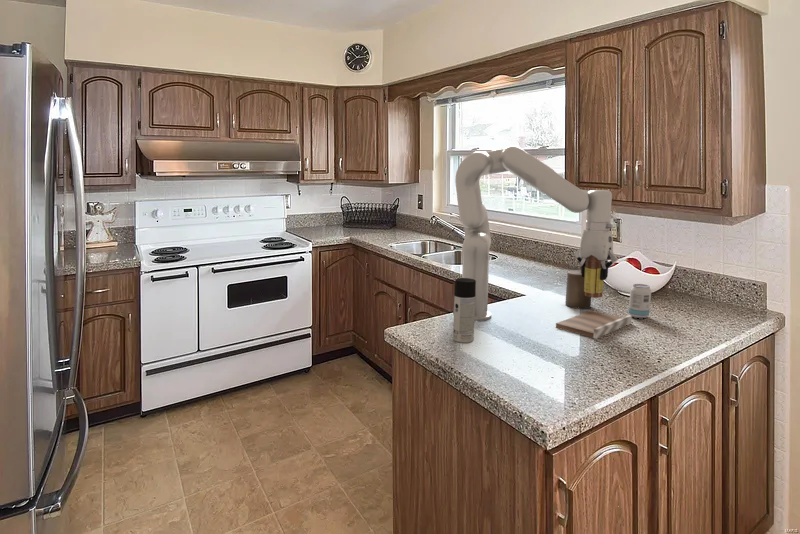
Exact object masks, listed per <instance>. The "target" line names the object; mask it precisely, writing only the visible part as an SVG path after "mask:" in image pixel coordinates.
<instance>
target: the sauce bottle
mask: <svg viewBox="0 0 800 534" xmlns="http://www.w3.org/2000/svg"><path fill="white" fill-rule="evenodd" d="M601 269H602V264H601V261H600V260H598V259H597V258H596V257H595V256H593V255H590V256H589V257H587V258H586V261H585V276H584V294H585V296H587V297H591V298H593V299H595V298H597V299H598V298H602V296H603V292H604V281H605V280H600V273H601Z"/></svg>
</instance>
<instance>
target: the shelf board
mask: <svg viewBox="0 0 800 534" xmlns="http://www.w3.org/2000/svg"><path fill="white" fill-rule="evenodd" d="M632 318H633V317H632V316H631V315H629V314H628V315H625V316H623V317H621V316H617V315H614V314H609V313H605V312H600V311H596V310H590V311H587V312H584V313H581V314H578V315H576V316H572V317H570V318H567V319H564V320H561V321H559V322H556V323H555V328H556V329H557V328H558V329H561V330H564V331H568V332H571V333H575V334H579V335H582V336H585V337H590V338H593V339H599V338H601V337H603V336H605V335H607V334H610V333H613V332H615V331H617V330H619V328H620V329H623V328H625V327H626V325H627V326H629V325H631V324H632Z"/></svg>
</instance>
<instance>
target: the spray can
mask: <svg viewBox="0 0 800 534" xmlns="http://www.w3.org/2000/svg"><path fill="white" fill-rule="evenodd" d="M475 296H476V280H474V279H470V278H462V277H458V278H456V279H455V280H454V297H453V301H454V302H453V311H454V314H453V328H452V329H453V330H452V331H453V332H452V336H453V337H452V338H453V341H454V342H455V343H459V344H468V343H469V342H470V343H473V341H474V339H475V321H474V320H475ZM470 343H469V344H470Z"/></svg>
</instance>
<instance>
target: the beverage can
mask: <svg viewBox="0 0 800 534" xmlns="http://www.w3.org/2000/svg"><path fill="white" fill-rule="evenodd" d="M650 287H651V286H650V285H648V284H643V283H634V284H633V285H632V287H631V288H630V293H629V301H628V303H629V304H628V312H627V313H628V315H631V316H632V318H633V317H634V319H636V318H639V320H644V319H643V318H645V319H646V318H648V317H649V316H650V310H651V309H650V308H651V301H652V300H651V298H652V289H651V288H650Z"/></svg>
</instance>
